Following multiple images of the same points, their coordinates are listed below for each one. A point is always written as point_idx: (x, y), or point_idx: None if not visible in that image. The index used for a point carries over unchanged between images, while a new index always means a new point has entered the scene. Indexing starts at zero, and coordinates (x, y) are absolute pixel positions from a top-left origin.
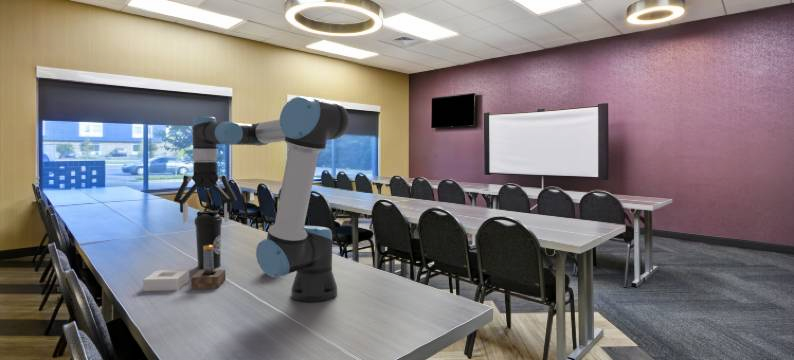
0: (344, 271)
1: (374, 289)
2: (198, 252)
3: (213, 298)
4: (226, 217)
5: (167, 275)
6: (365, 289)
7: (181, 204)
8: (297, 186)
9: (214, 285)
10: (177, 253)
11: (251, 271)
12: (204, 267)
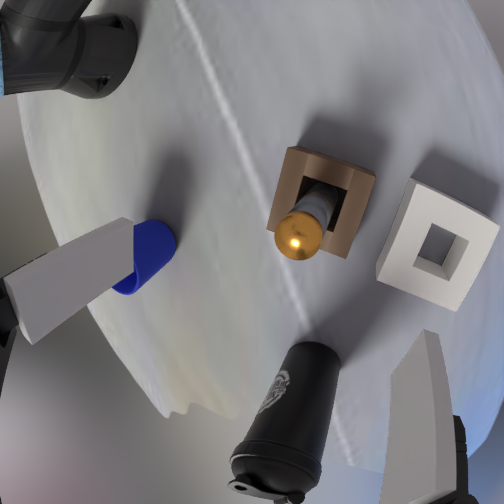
0: (61, 188)
1: None
2: (332, 389)
3: (306, 58)
4: (97, 229)
5: (435, 271)
6: None
7: (457, 489)
8: None
9: (305, 149)
10: (359, 453)
11: (211, 270)
12: (329, 201)
